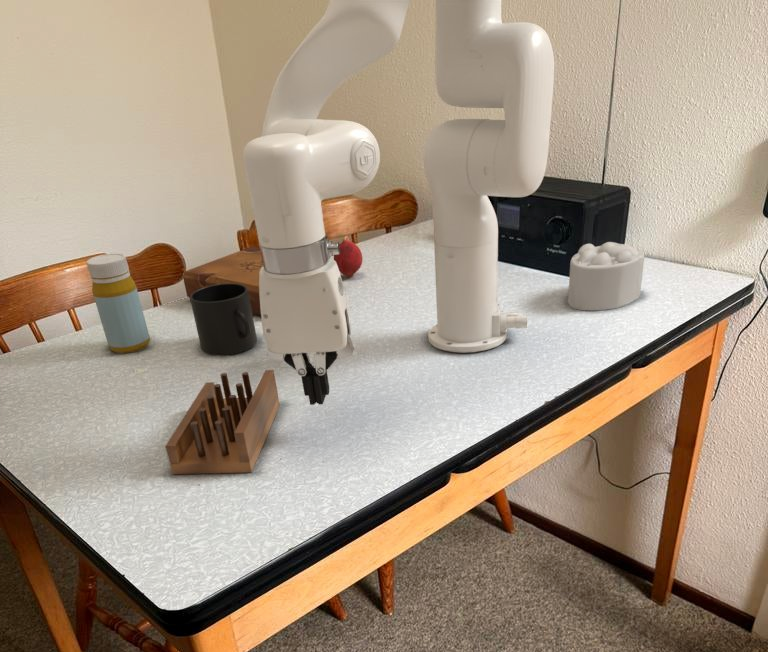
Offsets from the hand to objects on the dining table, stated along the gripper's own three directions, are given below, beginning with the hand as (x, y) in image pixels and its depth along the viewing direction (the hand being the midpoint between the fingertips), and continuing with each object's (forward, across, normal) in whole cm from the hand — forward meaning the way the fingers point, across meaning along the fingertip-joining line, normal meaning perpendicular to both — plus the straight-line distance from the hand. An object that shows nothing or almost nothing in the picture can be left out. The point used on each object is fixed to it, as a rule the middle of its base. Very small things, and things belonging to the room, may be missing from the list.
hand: (318, 399), depth 96 cm
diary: (+6, +22, -56) cm, 60 cm away
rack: (+4, +12, +1) cm, 13 cm away
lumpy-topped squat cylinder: (+7, -42, -46) cm, 63 cm away
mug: (+5, +20, -30) cm, 37 cm away
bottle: (+5, +39, -32) cm, 51 cm away
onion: (+6, +6, -65) cm, 66 cm away
